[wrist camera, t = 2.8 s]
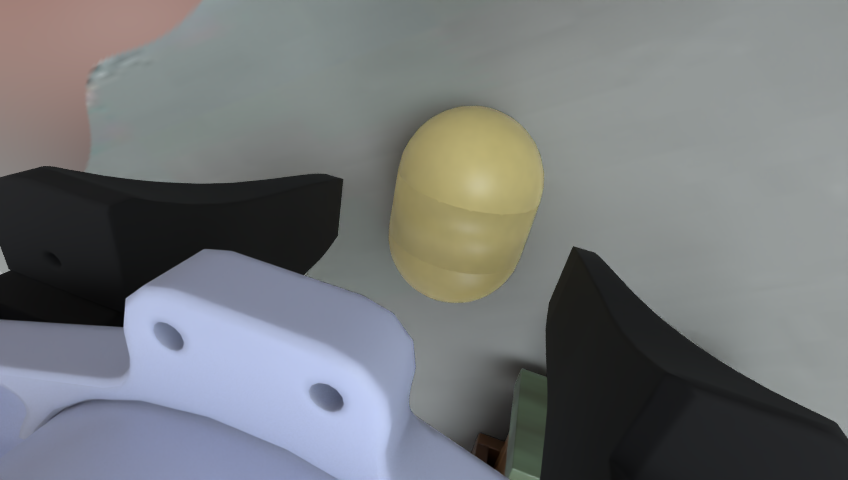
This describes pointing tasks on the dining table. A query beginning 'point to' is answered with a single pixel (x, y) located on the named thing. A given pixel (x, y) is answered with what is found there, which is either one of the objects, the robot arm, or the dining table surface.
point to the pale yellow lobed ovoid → (464, 203)
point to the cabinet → (487, 449)
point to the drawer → (525, 429)
